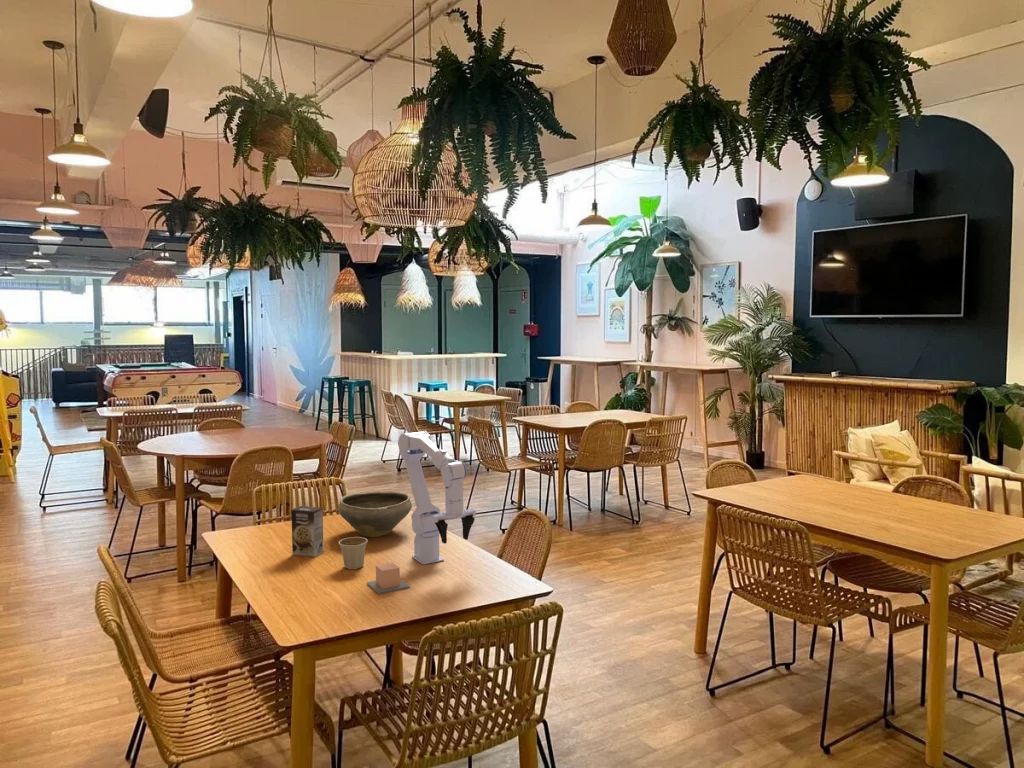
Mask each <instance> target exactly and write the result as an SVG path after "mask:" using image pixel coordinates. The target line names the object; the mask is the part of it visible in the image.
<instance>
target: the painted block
mask: <svg viewBox="0 0 1024 768" xmlns="http://www.w3.org/2000/svg"><path fill="white" fill-rule="evenodd" d="M400 570H401V568H400V567H399V566H398V565H397V564H395V563H394V562H387V563H383V564H378V565H375V581H376V583H377V584H378V585H379V586H380V587H382V588H383V589H384V588H388V587H393V586H398V585H400V579H401V575H400Z"/></svg>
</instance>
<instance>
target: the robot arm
mask: <svg viewBox="0 0 1024 768" xmlns="http://www.w3.org/2000/svg"><path fill="white" fill-rule="evenodd" d="M397 446H398V451H399V453H400V458H401V459H402V460H404V465H405V468H406V471H407V475H408V479H409V482H410V487H411V490H412V495H413V498H414V502H415V506H416V508H415V510H414V511H413V512H412V513H411V516H410V517H411V527H412V531H413V532H414V534H415V536H414V538H413V541H414V542H413V545H414V553H413V555H412V556H411V558H413V559H414V560H416V561H417V562H418V563H420V564H422V565H427V564H433V563H438V562H443V561H445V558H443V557H442V556H440V541H441V543H442V544H447V543H448V542H447V541H448V539H447V535H448V534H447V533H448V525H449V523H447V522H446V521H450V520H456V519H461V523H462V539H464V540H467V541H468V540H469V536H470V535H469V534H470V531H471V529H472V526H473V524H474V522H475V519H476V518H475V517H476V516H477V510H476V509H473V508H471V509H464V479H465V478H466V477H467V472H468V471H467V470H468V469H467V466H466V463H465V462H464V461H463V460H456V459H455V458H454V457H452V456H451V455H450V453H448V452H447V451H446V450H445V449H439V448H438V447H437V446H436V445H435V443H433V441H432V438H431V434H429V432H428V431H427V430H422V431H417V432H416V431H415V432H414V431H413V432H402V433H401V434H400V435H399V436H398V441H397ZM425 455H428V456H429V458H431V463H432V464H433V465H434V466H435V467H436V468H437V470H439V471H440V473H441V478H442V480H443V486H444V488H445V489H444V491H445V494H444V495H445V505H444V506H445V511H444V512H441V511H440V507H438V506H436V505H435V504H433V503H432V501H431V496H430V492H429V489H428V486H427V481H426V478H425V474H424V471H423V467H422V463H421V459H422V458H423V457H425ZM440 539H441V540H440Z"/></svg>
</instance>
